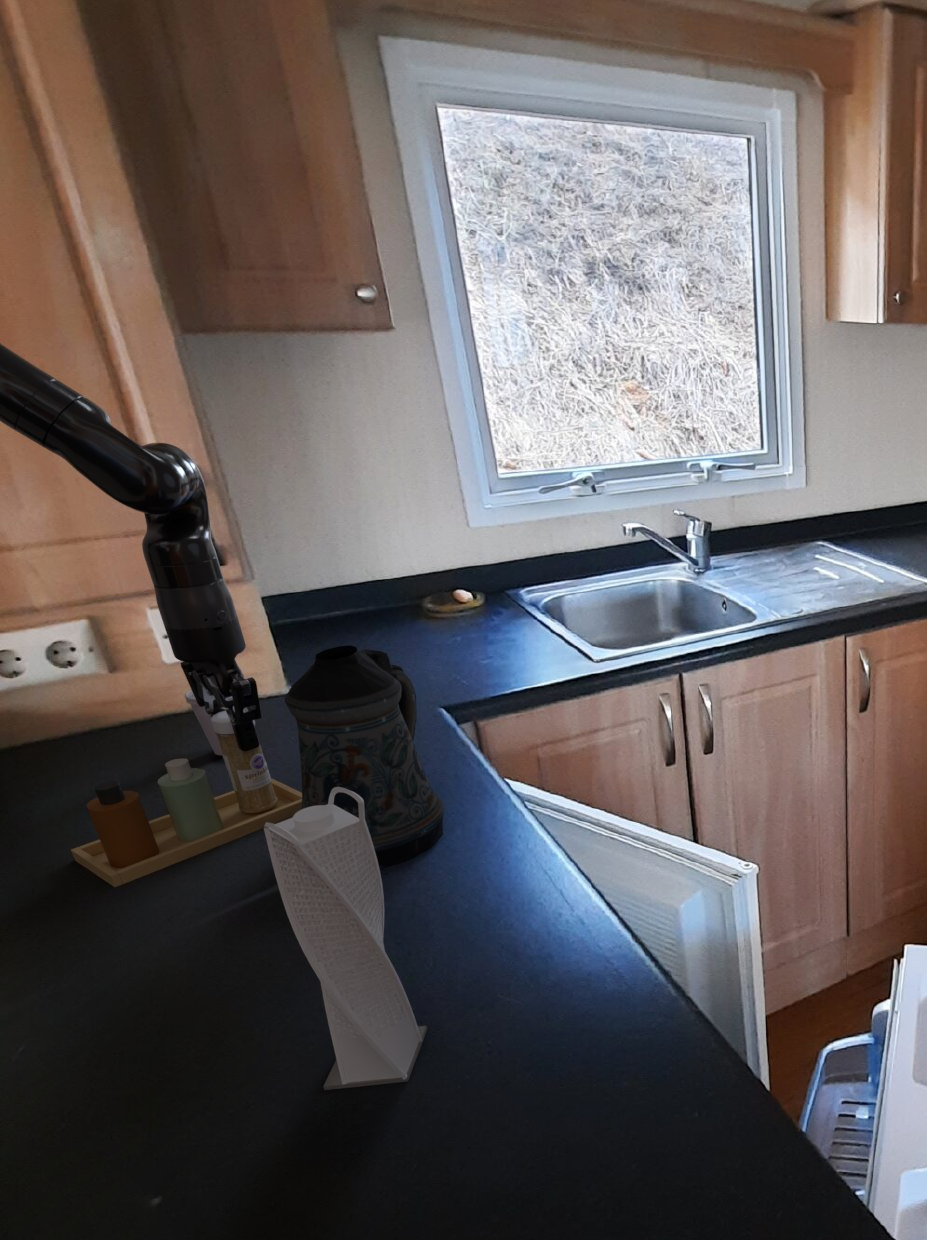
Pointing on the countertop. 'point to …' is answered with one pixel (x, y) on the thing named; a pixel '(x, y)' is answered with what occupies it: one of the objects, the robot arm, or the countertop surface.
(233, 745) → the sprinkles bottle
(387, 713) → the beer stein
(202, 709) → the smoothie
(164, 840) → the tray
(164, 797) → the sage bottle
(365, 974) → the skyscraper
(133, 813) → the amber bottle
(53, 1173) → the countertop surface
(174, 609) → the robot arm
